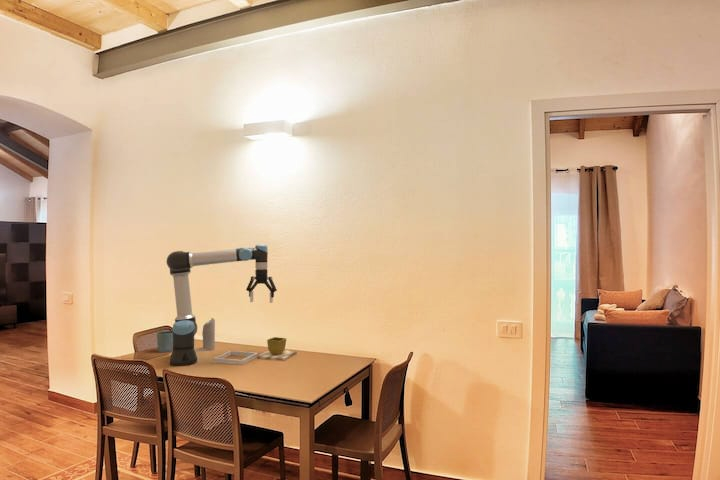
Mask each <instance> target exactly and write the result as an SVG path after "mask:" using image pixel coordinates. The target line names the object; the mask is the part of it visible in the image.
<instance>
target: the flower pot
mask: <svg viewBox="0 0 720 480" xmlns="http://www.w3.org/2000/svg"><path fill="white" fill-rule="evenodd" d="M266 342H267V348H268V350H269V351H270V353H271V354H277V355H278V354H281V353H282V352H283V351H284V350H285V348H286V345H287V338H286V337H278V336H276V337H270V338H269V339H267V340H266Z"/></svg>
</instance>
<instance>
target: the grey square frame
mask: <svg viewBox="0 0 720 480" xmlns="http://www.w3.org/2000/svg"><path fill="white" fill-rule="evenodd" d="M258 355H259V352H251V351H242V350H241V351H240V350H229V351H226V352H224V353H222V354H220V355H217V356H215V357H213V358H212V363H214V364H227V365H239V366H242V365H245V364H247V363H249V362H251V361H252V360H255V359H257V356H258ZM230 356H238V357H239V356H240V357H245V358H243V359H234V358H229V357H230Z"/></svg>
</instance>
